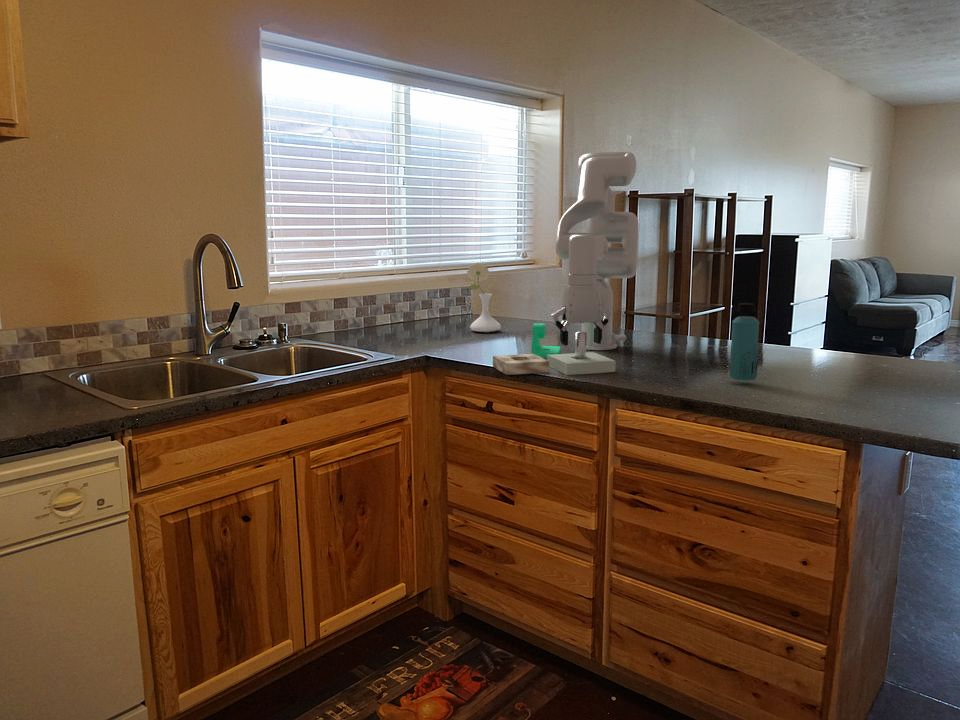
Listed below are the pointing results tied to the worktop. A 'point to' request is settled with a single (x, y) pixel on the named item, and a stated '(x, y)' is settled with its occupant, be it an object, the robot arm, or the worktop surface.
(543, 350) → the camera mount
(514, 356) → the block
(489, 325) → the flower in vase
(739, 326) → the beverage bottle
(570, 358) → the dock block
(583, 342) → the steel pin
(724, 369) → the worktop surface
